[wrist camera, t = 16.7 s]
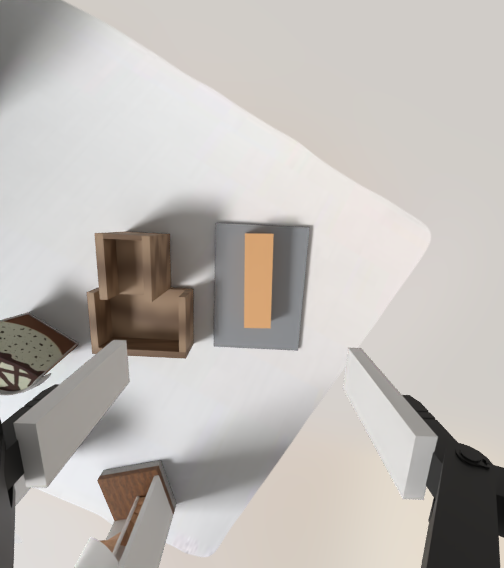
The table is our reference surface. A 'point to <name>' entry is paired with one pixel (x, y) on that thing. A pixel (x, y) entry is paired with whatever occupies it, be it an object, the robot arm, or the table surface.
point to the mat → (285, 287)
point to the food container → (29, 352)
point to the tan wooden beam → (258, 280)
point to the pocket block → (139, 297)
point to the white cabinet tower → (133, 518)
